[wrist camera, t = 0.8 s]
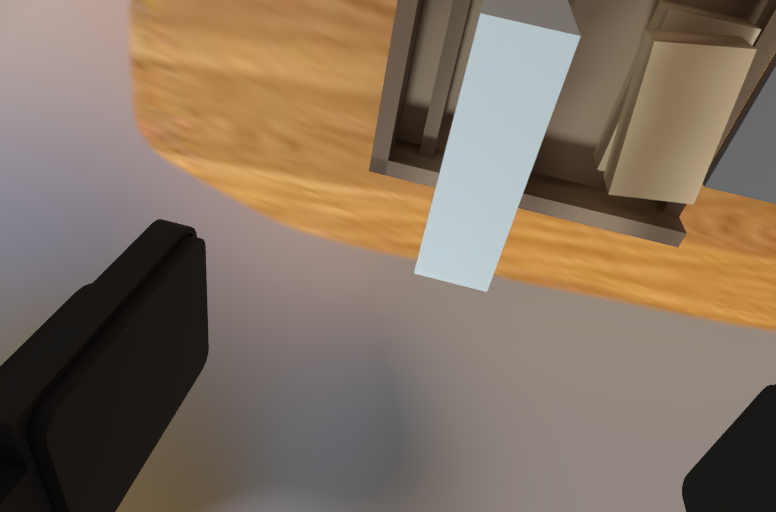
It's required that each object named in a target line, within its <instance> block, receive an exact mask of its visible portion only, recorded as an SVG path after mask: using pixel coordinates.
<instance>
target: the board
mask: <svg viewBox="0 0 776 512" xmlns="http://www.w3.org/2000/svg"><path fill="white" fill-rule="evenodd" d="M580 37H581V35H580V33H579V30H578V27H577V24H576V21H575V19H574V16H573V13H572V10H571V7H570V5H569V2H568V0H483V3H482V7H481V11H480V14H479V18H478V22H477V26H476V30H475V34H474V38H473V42H472V46H471V50H470V54H469V58H468V62H467V66H466V69H465V73H464V77H463V81H462V85H461V89H460V93H459V97H458V101H457V105H456V109H455V113H454V117H453V121H452V124H451V128H450V132H449V136H448V140H447V144H446V148H445V152H444V156H443V160H442V164H441V168H440V172H439V176H438V180H437V184H436V188H435V192H434V196H433V200H432V204H431V208H430V212H429V216H428V220H427V224H426V228H425V232H424V236H423V240H422V244H421V248H420V252H419V256H418V260H417V263H416V268H415V271H414V273H415V274H419V275H423V276H426V277H431V278H434V279H438V280H443V281H446V282H450V283H454V284H458V285H462V286H466V287H470V288H474V289H478V290H482V291H485V292H487V290H488V288H489V285H490V282H491V280H492V277H493V274H494V271H495V269H496V266H497V263H498V261H499V258H500V255H501V252H502V250H503V247H504V244H505V241H506V239H507V236H508V233H509V231H510V228H511V225H512V222H513V220H514V217H515V214H516V211H517V209H518V206H519V203H520V201H521V198H522V195H523V192H524V190H525V187H526V184H527V181H528V179H529V176H530V173H531V171H532V168H533V165H534V162H535V160H536V157H537V154H538V151H539V149H540V146H541V143H542V141H543V138H544V135H545V132H546V130H547V127H548V124H549V121H550V119H551V116H552V113H553V111H554V108H555V105H556V102H557V100H558V97H559V94H560V91H561V89H562V86H563V83H564V81H565V78H566V75H567V72H568V70H569V67H570V64H571V61H572V59H573V56H574V53H575V51H576V48H577V45H578V42H579V40H580Z"/></svg>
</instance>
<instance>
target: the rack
mask: <svg viewBox="0 0 776 512" xmlns="http://www.w3.org/2000/svg"><path fill="white" fill-rule="evenodd" d="M665 1H669V2H674V3H678V4H683V5H687V6H692V7H696V8H701V9H705V10H710V11H714V12H719V13H723V14H727V15H732V16H736V17H741V18H745V19H747V20H748V21H750V22H751V23H753V24H754V25H756V26H757V27H759V28H760V29H761V31H760V33H759V35H758V36H757V38H756V40H755V42H754V44H753V45H752V46H753V47H755V48H756V49H757V51H756V53H755V55H754V58H753V60H752V63H751V65H750V68H749V70H748V73H747V75H746V78H745V80H744V83H743V85H742V87H741V90H740V92H739V95H738V97H737V100H736V102H735V105H734V107H733V110H732V112H731V114H730V117H729V119H728V122H727V124H726V127H725V129H724V132H723V134H722V137H721V139H720V141H719V144H718V146H717V149H716V151H715V154H716V152H717V150H718V149H719V147H720V145H721V143H722V142H723V140H724V138H725V137H726V135H727V133H728V131H729V130H730V128H731V126H732V125H733V123H734V121H735V119H736V118H737V116H738V114H739V112H740V111H741V109H742V107H743V106H744V104H745V102H746V100H747V99H748V97H749V95H750V93H751V92H752V90H753V88H754V87H755V85H756V83H757V81H758V80H759V78H760V76H761V75H762V73H763V71H764V69H765V68H766V66H767V64H768V62H769V61H770V59H771V57H772V56H773V54H774V52H775V50H776V0H665ZM568 2H569V5H570V7H571V10H572V13H573V16H574V19H575V21H576V24H577V27H578V30H579V33H580V35H581V37H580V40H579V42H578V45H577V48H576V51H575V53H574V56H573V59H572V61H571V64H570V67H569V70H568V72H567V75H566V78H565V81H564V83H563V86H562V89H561V91H560V94H559V97H558V100H557V102H556V105H555V108H554V111H553V113H552V116H551V119H550V121H549V124H548V127H547V130H546V132H545V135H544V138H543V141H542V143H541V146H540V149H539V151H538V154H537V157H536V160H535V162H534V165H533V168H532V171H531V173H530V176H529V179H528V181H527V184H526V187H525V190H524V192H523V195H522V198H521V201H520V203H519V206H518V208H521V209H525V210H529V211H533V212H537V213H541V214H545V215H549V216H553V217H557V218H561V219H565V220H569V221H573V222H577V223H581V224H586V225H590V226H594V227H598V228H602V229H606V230H610V231H614V232H618V233H622V234H626V235H630V236H634V237H638V238H642V239H646V240H651V241H655V242H659V243H663V244H667V245H671V246H675V247H679V245H680V243H681V242H682V240H683V238H684V237H685V235H686V234H687V233H686V231H685V229H684V227H683V225H682V222H681V220H680V218H679V216H680V214H681V212H682V211H683V209H684V207H685V206H686V204H685V203H677V202H668V201H659V200H651V199H642V198H633V197H625V196H616V195H608V191H607V187H606V184H605V180H604V176H603V175H604V171H600V170H597V166H596V163H595V159H594V155H593V152H594V150H595V148H596V145H597V143H598V141H599V138H600V136H601V134H602V131H603V129H604V127H605V125H606V122H607V120H608V118H609V115H610V113H611V111H612V108H613V106H614V104H615V101H616V99H617V97H618V94H619V92H620V90H621V88H622V85H623V83H624V81H625V78H626V76H627V74H628V71H629V69H630V67H631V64H632V62H633V60H634V58H635V55H636V53H637V51H638V48H639V46H640V44H641V41H642V39H643V36H644V32H645V29H647V28H648V25H649V23H650V21H651V18H652V16H653V14H654V11H655V9H656V7H657V4H658V2H659V0H568ZM482 3H483V0H398V2H397V8H396V14H395V20H394V25H393V31H392V37H391V43H390V49H389V55H388V61H387V67H386V73H385V79H384V85H383V91H382V97H381V103H380V109H379V115H378V121H377V127H376V133H375V139H374V145H373V150H372V156H371V162H370V168H369V171H370V172H374V173H378V174H382V175H386V176H391V177H395V178H399V179H403V180H407V181H411V182H415V183H419V184H423V185H427V186H431V187H435V188H436V184H437V180H438V176H439V172H440V168H441V164H442V160H443V156H444V152H445V148H446V144H447V140H448V136H449V132H450V128H451V124H452V121H453V117H454V113H455V109H456V105H457V101H458V97H459V93H460V89H461V85H462V81H463V77H464V73H465V69H466V66H467V62H468V58H469V54H470V50H471V46H472V42H473V38H474V34H475V30H476V26H477V22H478V18H479V14H480V11H481V7H482ZM715 154H714V156H715ZM714 156H713V157H714Z"/></svg>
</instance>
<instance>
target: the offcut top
mask: <svg viewBox="0 0 776 512" xmlns="http://www.w3.org/2000/svg"><path fill="white" fill-rule="evenodd" d="M756 51H757V49H756V48H755V47H753V46H752V45H751V44H750V43H748V42H747V41H746V40H745V39H743V38H742V37H741V36H727V35H714V34H701V33H688V32H675V31H662V30H649V29H645V32H644V36H643V39H642V43H641V46H640V50H639V53H638V57H637V60H636V64H635V67H634V71H633V74H632V78H631V81H630V85H629V88H628V92H627V95H626V99H625V102H624V106H623V109H622V112H621V116H620V119H619V123H618V126H617V130H616V133H615V137H614V140H613V144H612V147H611V151H610V154H609V158H608V161H607V165H606V168H605V172H604V175H603V176H604V180H605V184H606V187H607V191H608V195H616V196H625V197H633V198H642V199H651V200H659V201H668V202H677V203H685V204H694V203H695V200H696V198H697V196H698V193H699V191H700V188H701V186H702V183H703V181H704V178H705V176H706V173H707V171H708V169H709V166H710V164H711V161H712V159H713V156H714V154H715V151H716V149H717V146H718V144H719V141H720V139H721V137H722V134H723V132H724V129H725V127H726V124H727V122H728V119H729V117H730V114H731V112H732V110H733V107H734V105H735V102H736V100H737V97H738V95H739V92H740V90H741V87H742V85H743V83H744V80H745V78H746V75H747V73H748V70H749V68H750V65H751V63H752V60H753V58H754V55H755V53H756Z"/></svg>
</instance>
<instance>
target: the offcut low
mask: <svg viewBox="0 0 776 512" xmlns="http://www.w3.org/2000/svg"><path fill="white" fill-rule="evenodd" d="M647 29H649V30H662V31H675V32H688V33H701V34H714V35H727V36H741V37H742V38H743V39H745V40H746V41H747V42H748V43H750V44H751V45H753V44H754V42H755V40H756V38H757V36H758V35H759V33H760V31H761V29H760V28H759V27H757V26H756V25H754V24H753V23H751V22H750V21H748V20H747V19H745V18H741V17H736V16H732V15H727V14H723V13H719V12H714V11H710V10H705V9H701V8H696V7H692V6H687V5H683V4H678V3H674V2H669V1H665V0H659V2H658V4H657V7H656V9H655V11H654V14H653V16H652V18H651V21H650V23H649V25H648V28H647ZM641 43H642V41H641ZM640 46H641V44H640ZM640 46H639V48H638V51H637V53H636V55H635V58H634V60H633V62H632V64H631V67H630V69H629V71H628V74H627V76H626V78H625V81H624V83H623V85H622V88H621V90H620V92H619V94H618V97H617V99H616V101H615V104H614V106H613V108H612V111H611V113H610V115H609V118H608V120H607V122H606V125H605V127H604V129H603V131H602V134H601V136H600V138H599V141H598V143H597V145H596V148H595V150H594V152H593V155H594V159H595V163H596V166H597V170H600V171H604V172H605V168H606V165H607V161H608V158H609V154H610V151H611V147H612V144H613V140H614V137H615V133H616V130H617V126H618V123H619V119H620V116H621V112H622V109H623V106H624V102H625V99H626V95H627V92H628V88H629V85H630V81H631V78H632V74H633V71H634V67H635V64H636V60H637V57H638V53H639V50H640Z"/></svg>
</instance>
